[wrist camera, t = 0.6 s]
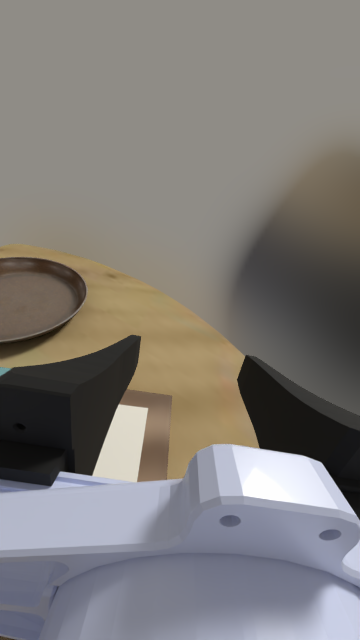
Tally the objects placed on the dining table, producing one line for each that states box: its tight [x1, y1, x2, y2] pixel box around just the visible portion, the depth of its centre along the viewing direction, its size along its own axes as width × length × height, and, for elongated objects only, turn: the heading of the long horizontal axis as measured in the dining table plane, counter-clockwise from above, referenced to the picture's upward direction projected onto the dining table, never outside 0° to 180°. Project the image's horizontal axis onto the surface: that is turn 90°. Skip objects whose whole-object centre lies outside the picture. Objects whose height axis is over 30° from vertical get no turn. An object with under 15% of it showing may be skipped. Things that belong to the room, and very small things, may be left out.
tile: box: [92, 404, 148, 482], centre depth 16 cm, size 9×6×2 cm, turn 178°
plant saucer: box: [0, 257, 88, 343], centre depth 30 cm, size 21×21×3 cm
